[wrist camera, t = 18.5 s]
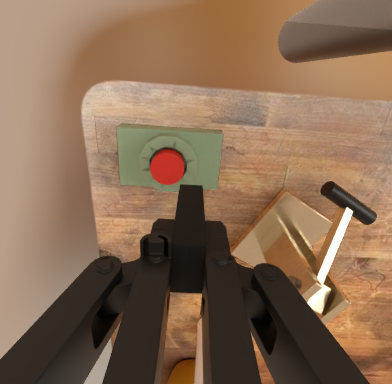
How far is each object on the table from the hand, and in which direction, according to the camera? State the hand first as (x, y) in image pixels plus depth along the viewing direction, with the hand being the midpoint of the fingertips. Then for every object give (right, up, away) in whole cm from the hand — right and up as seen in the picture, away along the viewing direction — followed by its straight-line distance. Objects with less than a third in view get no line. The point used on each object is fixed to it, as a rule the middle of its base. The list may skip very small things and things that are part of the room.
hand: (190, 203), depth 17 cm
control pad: (-3, +5, +15) cm, 16 cm away
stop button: (-3, +4, +11) cm, 12 cm away
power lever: (+15, -6, +12) cm, 20 cm away
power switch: (+13, -5, +20) cm, 24 cm away
